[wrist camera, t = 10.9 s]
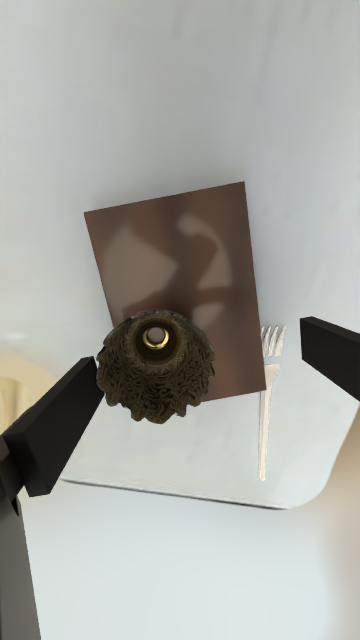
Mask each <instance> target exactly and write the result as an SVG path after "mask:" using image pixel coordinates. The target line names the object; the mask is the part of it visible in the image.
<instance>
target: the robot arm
mask: <svg viewBox="0 0 360 640" xmlns="http://www.w3.org/2000/svg"><path fill="white" fill-rule="evenodd" d="M300 333H301V350H302V360H304V361H305V362H307V363H308V364H309V365H311V366H312V367H313V368H315V369H316V370H317V371H319V372H320V373H321V374H323V375H324V376H326V377H327V378H328V379H330V380H331V381H332V382H334V383H335V384H336V385H338V386H339V387H341V388H342V389H343V390H345V391H346V392H347V393H349V394H350V395H351V396H353V397H354V398H355V399H357V400H358V401H360V334H359V333H356V332H353V331H351V330H348V329H345V328H343V327H340V326H337V325H334V324H332V323H329V322H326V321H323V320H321V319H318V318H315V317H313V316H311V317H305V318H300ZM96 375H97V366H96V363H95V359H94V356H91V357H85V358H81V359H80V360H79V361H78V362H77V363H76V364H75V365H74V366H73V367H72V368H71V369H70V370H69V371H68V372H67V373H66V374H65V375H64V376H63V377H62V378H61V379H60V380H59V381H58V382H57V383H56V384H55V385H54V386H53V387H52V388H51V389H50V390H49V391H48V392H47V393H46V394H45V395H44V396H43V397H42V398H41V399H40V400H39V401H37V402H36V403H35V404H34V405H33V406H32V407H30V408H29V409H27V410H26V411H25V412H24V413H23V414H22V415H21V416H20V417H19V419H17V420H16V421H15V422H14V423H13V424H12V425H11V426H10V427H9V428H7V429H6V430H5V431H4V432H3V433H2V434H1V435H0V640H41V636H40V629H39V623H38V616H37V610H36V603H35V597H34V590H33V583H32V577H31V570H30V564H29V557H28V550H27V544H26V537H25V530H24V524H23V517H22V511H21V504H20V501H19V499H18V497H17V494H18V493H19V491H20V490H21V489H22V487H23V486H25V488H26V490H27V493H28V495H29V497H35V496H41V495H47V494H50V492H51V490H52V489H53V487H54V485H55V483H56V481H57V480H58V478H59V476H60V474H61V472H62V471H63V469H64V467H65V465H66V463H67V462H68V460H69V458H70V456H71V454H72V453H73V451H74V449H75V447H76V445H77V443H78V442H79V440H80V438H81V436H82V434H83V433H84V431H85V429H86V427H87V425H88V424H89V422H90V420H91V418H92V416H93V415H94V413H95V411H96V409H97V407H98V406H99V404H100V402H101V400H102V398H103V397H104V395H105V393H104V392H103V391H102V390H101V389H99V387H98V386H97V384H96Z"/></svg>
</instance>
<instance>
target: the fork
mask: <svg viewBox="0 0 360 640" xmlns="http://www.w3.org/2000/svg"><path fill="white" fill-rule="evenodd" d="M270 330H271V326H269V327H268V329H267V332H266V334H265V337H264V340H263V344H262V351H263V357H265V356H266V348H267V342H268V337H269V333H270ZM277 330H278V326H276V327H275V329H274V331H273V334H272V336H271V339H270V343H269V354H268V357H272V352H273V346H274V341H275V337H276V333H277ZM285 330H286V325H285V326H284V327H283V329H282V331H281V333H280V335H279V337H278V340H277V343H276V348H275V357H277V358H279V357H281V351H282V344H283V339H284V334H285ZM263 331H264V326H263V327H262V328H261V330H260V332H261V338H262V334H263ZM264 369H265V379H266V388H267V390H265V391H261V405H260V431H259V456H258V479H259V480H265V467H266V454H267V440H268V427H269V414H270V401H271V388H272V383H273V381H274V379H275V377H276V376H277V374H278V372H279V369H280V364H272V365H264Z"/></svg>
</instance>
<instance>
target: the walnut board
mask: <svg viewBox="0 0 360 640" xmlns="http://www.w3.org/2000/svg"><path fill="white" fill-rule="evenodd" d="M84 216H85V220H86V224H87V228H88V232H89V235H90V239H91V243H92V247H93V251H94V255H95V258H96V262H97V266H98V270H99V274H100V278H101V281H102V285H103V289H104V293H105V297H106V301H107V304H108V308H109V312H110V316H111V320H112V323H113V327H114V328H115V327H116V326H117V325H119V324H120V323H121V322H123V321H124V320H126V319H128V318H129V317H131V316H132V315H134V314H136V313H138V312H141V311H144V310H148V309H166V310H170V311H173V312H175V313H177V314H180V315H182V316H184V317H185V318H187V319H189V320H190V321H191V322H192V323H194V324H195V325H196V326H198V327H199V328H201V329H202V330H203V331H204V332H205V333H206V335H207V336H208V337H207V338H208V340H209V341H210V343H211V345H212V347H213V349H214V351H215V361H214V362H213V368H214V371H215V376H214V377H208V379H209V385H208V395H204V396H203V395H202V398H203V399H202V401H201V402H204V401H210V400H215V399H221V398H226V397H232V396H237V395H243V394H248V393H254V392H259V391H265V390H267V388H266V379H265V369H264V360H263V351H262V341H261V332H260V323H259V313H258V304H257V295H256V285H255V276H254V267H253V258H252V248H251V239H250V230H249V220H248V211H247V202H246V192H245V183H244V181H243V182H238V183H233V184H228V185H223V186H218V187H212V188H207V189H202V190H197V191H192V192H187V193H181V194H176V195H171V196H166V197H161V198H156V199H151V200H145V201H140V202H135V203H130V204H125V205H120V206H115V207H109V208H104V209H99V210H94V211H89V212H84ZM147 337H148V340H149V341H150V342H151V343H153V344H158V343H161V342H162V341H163V339H164V332H163V330H162V329H160V328H152V329H150V330H149V332H148V335H147ZM187 405H188V404H187Z"/></svg>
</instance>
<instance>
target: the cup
mask: <svg viewBox="0 0 360 640" xmlns="http://www.w3.org/2000/svg"><path fill="white" fill-rule="evenodd" d="M152 328H160V329H162V330H163V332H164V339H163V341H162V342H161V343H158V344H153V343H151V342H150V341H149V340H148V337H147V335H148V332H149V330H150V329H152ZM207 337H208V336H207V335H206V333H205V332H204V331H203V330H202V329H201V328H199V327H198V326H196V325H195V324H194V323H192V322H191V321H190V320H189V319H187V318H185V317H184V316H182V315H180V314H177V313H175V312H173V311H170V310H166V309H148V310H144V311H141V312H138V313H136V314H134V315H132V316H131V317H129V318H128V319H126V320H124V321H123V322H121V323H120V324H119V325H117V326H116V327H115V328H114V329H113V330H112V331H111V332H110V333H109V334H108V335H107V337H106V338H105V340H104V342H103V345H104V347H103V348H102V350H101V351H100V352H99V353H98V355H97V358H96V360H97V361H99V367H98V370H97V375H96V384H97V386H98V387H99V389H101V390H102V391H103V392H105V393H106V396H105V398H106V402H107V404H108V405H109V406H116V405H117V404H118V403H121V405H122V407H124V408H128V409H130V410H131V418H132V419H134V420H135V421H137V422H138V421H141V420H142V419H143V418H144V417H145V418H146V419H147V420H148V421H150V422H152V423H156V424H163V423H165V422H166V421H167V420H168V419H169V418H170V417H171V416H172V415H173V414H174V413H175V412H176V413H177V414H178V415H177V416H180V417H184V416H185V415H186V406H187V404H190V405H191V406H194V407H196V406H198V405H199V404H200V403H201V401H202V399H203V398H202V395H203V396H204V395H208V385H209V379H208V377H214V376H215V371H214V368H213V362H214V361H215V351H214V349H213V347H212V345H211V343H210V341H209V340H208V338H207ZM117 401H118V402H117Z"/></svg>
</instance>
